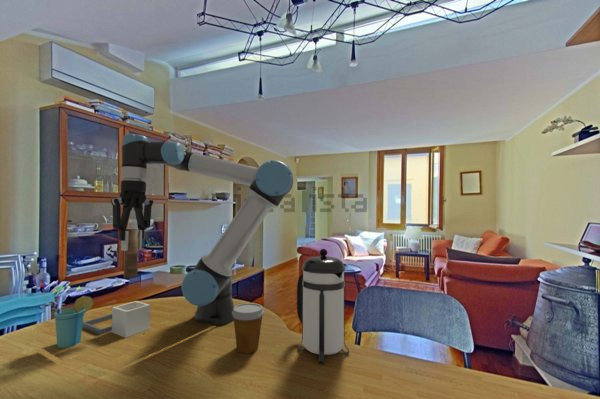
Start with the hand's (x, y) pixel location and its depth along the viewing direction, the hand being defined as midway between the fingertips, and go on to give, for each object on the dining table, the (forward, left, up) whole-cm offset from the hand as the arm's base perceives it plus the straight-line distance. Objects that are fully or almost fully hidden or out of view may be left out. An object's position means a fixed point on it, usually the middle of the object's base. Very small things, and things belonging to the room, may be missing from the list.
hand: (131, 249), depth 98 cm
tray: (+10, +1, -28) cm, 30 cm away
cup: (+5, +16, -28) cm, 32 cm away
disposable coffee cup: (-41, -12, -28) cm, 51 cm away
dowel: (0, 0, -9) cm, 9 cm away
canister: (-1, 0, -28) cm, 28 cm away
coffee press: (-60, -22, -28) cm, 70 cm away
